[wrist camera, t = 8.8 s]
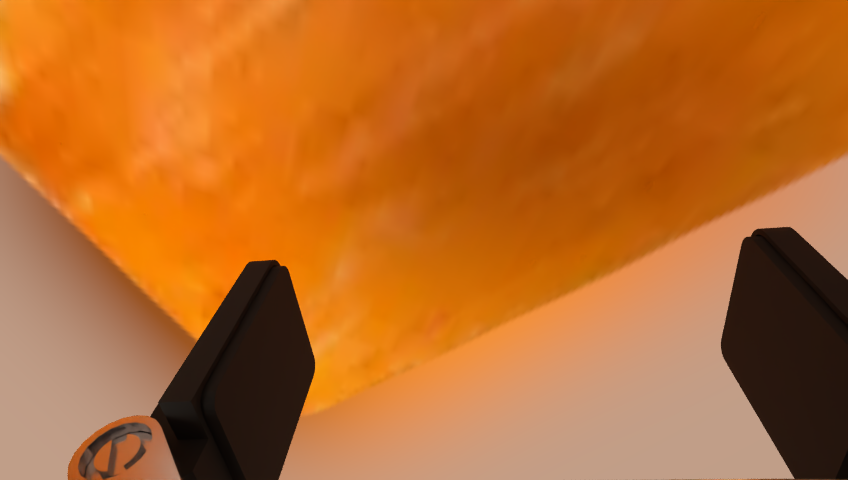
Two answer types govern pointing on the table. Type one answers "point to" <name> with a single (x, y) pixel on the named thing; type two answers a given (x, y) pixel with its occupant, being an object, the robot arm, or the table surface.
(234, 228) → the table surface
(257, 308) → the robot arm
